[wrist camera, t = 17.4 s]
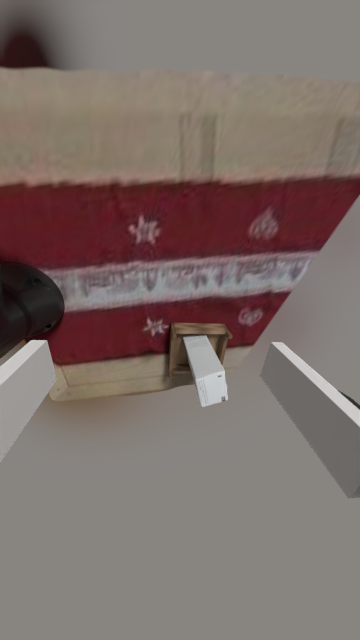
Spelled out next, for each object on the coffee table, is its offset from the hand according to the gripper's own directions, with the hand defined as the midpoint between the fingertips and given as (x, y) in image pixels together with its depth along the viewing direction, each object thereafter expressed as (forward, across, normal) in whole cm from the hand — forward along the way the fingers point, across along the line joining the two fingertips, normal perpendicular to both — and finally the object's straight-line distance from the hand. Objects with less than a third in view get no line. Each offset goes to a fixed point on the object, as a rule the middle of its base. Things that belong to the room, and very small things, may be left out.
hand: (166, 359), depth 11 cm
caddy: (+32, +10, -19) cm, 38 cm away
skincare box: (+31, +10, -19) cm, 38 cm away
